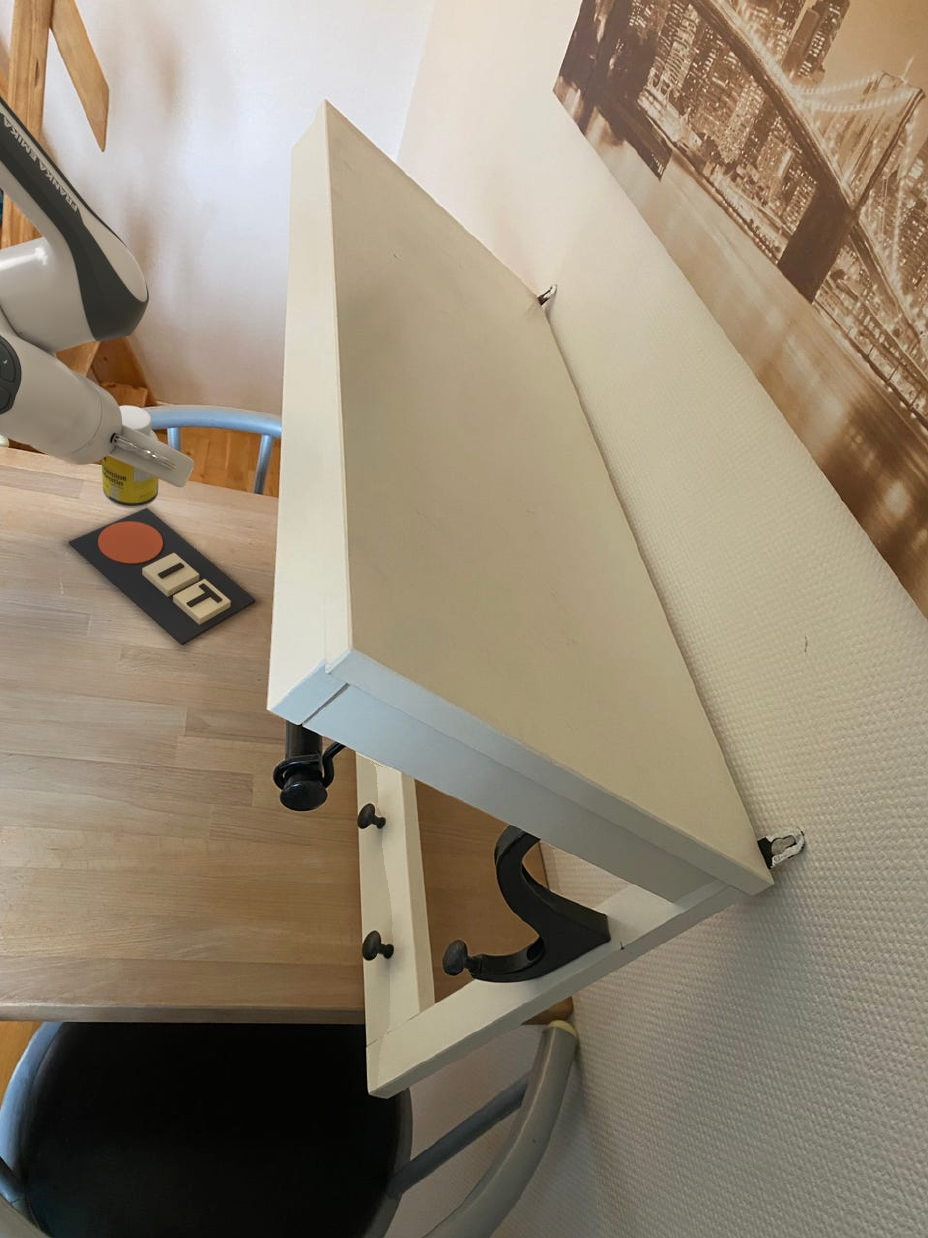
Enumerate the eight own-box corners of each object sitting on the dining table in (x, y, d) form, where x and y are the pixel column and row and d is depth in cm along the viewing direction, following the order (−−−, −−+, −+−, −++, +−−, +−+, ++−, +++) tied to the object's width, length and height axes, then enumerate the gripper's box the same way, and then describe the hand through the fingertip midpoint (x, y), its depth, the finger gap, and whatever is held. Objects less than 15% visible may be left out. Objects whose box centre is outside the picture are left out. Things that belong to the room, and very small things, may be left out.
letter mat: (69, 547, 107) (67, 533, 105) (146, 512, 115) (146, 499, 113) (181, 648, 101) (182, 635, 99) (255, 604, 109) (257, 592, 107)
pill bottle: (98, 479, 103) (93, 401, 95) (151, 475, 106) (151, 399, 98) (109, 513, 100) (105, 435, 92) (164, 508, 103) (165, 432, 95)
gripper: (175, 432, 85) (220, 462, 98) (1, 353, 86) (70, 393, 99) (150, 488, 85) (198, 509, 98) (-24, 408, 86) (48, 440, 99)
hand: (133, 450), depth 99 cm, fingers closed on pill bottle, 6 cm apart
